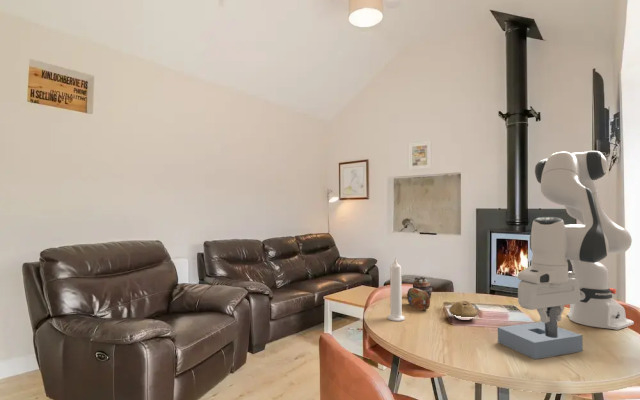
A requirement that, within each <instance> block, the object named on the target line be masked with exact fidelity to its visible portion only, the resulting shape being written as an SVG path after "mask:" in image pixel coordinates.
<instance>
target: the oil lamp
mask: <svg viewBox="0 0 640 400" xmlns="http://www.w3.org/2000/svg"><path fill="white" fill-rule="evenodd" d="M448 311H449V313H450V314H451V315H452V314H453V315H456V316H461V317H474V318H475V317H477V316H478V314H479V312H478V310H477V308H476V307H474V306H473V305H472V303H471V302H470V301H468V300H467V301H466V300H463V301H462V300H461V301H456V302H454V303H452V305H451V306H450V307H449V308H448ZM453 315H452V316H453Z"/></svg>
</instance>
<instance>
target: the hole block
mask: <svg viewBox="0 0 640 400" xmlns="http://www.w3.org/2000/svg"><path fill="white" fill-rule="evenodd" d="M557 333H558V337H557V338H551V337H547V336H545V323H543V322H541V321H537V322H536V321H535V322H529V323H522V324H520V323H519V324H513V325H507V326H506V325H505V326H498V327H497V342H498V343H499V344H501V345H503V346H505V347H508V348H510V349H512V350H514V351H515V352H517V353H520V354H522V355H525V356H527V357H528V358H530V359H533V360H538V359H539V360H540V359H545V358H546V359H547V358H549V357H550V358H551V357H556V356H561V355H568V354H573V353H574V354H575V353H579V352H583V351H584V350H583V349H584V347H583V345H584V344H583V338H584V337H583V335H582V334H580V333H577V332H574V331H571V330H568V329H565V328H563V327H559V326H557Z"/></svg>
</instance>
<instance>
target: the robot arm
mask: <svg viewBox="0 0 640 400" xmlns="http://www.w3.org/2000/svg"><path fill="white" fill-rule="evenodd" d="M607 170H608V161H607V158H606V157H605V156H604V154H603V152H601V151H598V150H587V151H584V152H583V151H582V152H572V153H570V152H568V151H558V152H555V153H552V154H551V155H549V157H548V158H544V159H542V160H539V161H538V162H537V163H536V165H535V168H534V176H535V178H536V180H537V182H538V183H539V185H540V192H541V194H542V195H543V197H544V198H545V199H547V200H548V201H550V202H551V203H554V204H556V205H560V206H563V207H564V206H565V211H566V213H567V215H568V216H569V217H570V218H572V219H575V220H577V221H579V222H581V223H582V224H581V223H579V224H578V223H577V224H576V223H575V224H574V223H573V224H572V223H570V224H565V221H564V220H563V219H562V218H560V217H556V216H542V217H540V216H539V217H536V218H535V219H533V221H532V225H531V232H530V235H529V250H531V253H532V257H531V265H529V266H528V267H526V268H525V269H523V270H521V271H519V272H518V273H517V279H518V280H519V283H518V285H517V302H518V304H519V306H520V307H521V308H522V309H526V310H528V311H529V310H530V311H533V310H534V311H535V310H536V311H537V313H538V315H539V317H540V318H539V319H540V322H543V323H548V322H550V317H549V316H547V314H546V312H545V311H547V308H548V307H555V306H557V322H560V321H562V315H563V312H564V310H565V306H568V305H569V312H567V314H566V315H567V317H568V318H569V320H570V321H572V322H574V323H577V324H580V325H584V326H587V327H594V328H601V329H602V328H603V329H611V330H616V331H618V330H621V329H624V328H627V327H630V326H633V325H634V324H635V323H634V321H633V320H632V319H629V318H627V317H626V315H627V314H626V310H625V307H624V306H623V305H621V304H620V303H619V302H618V301H616V300H615V299H614V298H613V294H614V295H616V294H617V289H616V288H612V287H609V269H608V268H607V267H606V265H604V263H602V262H600V261H602V260H604V259H605V258H607V256H608V255H609V254H610V255H612V254H623V253H626V252H627V251H628V250H629V249H630V248H631V246H632V241H633V239H632V236H631V234H630V232H629V230H627V229H626V228H624V227H622V226H620V225H619V224H617V223H616V222H614V221H613V220H612V219H611V218H610V217H609V216H608V215H607V214H606V212H605V211H604V209H603V207H602V203H601V200H600V196H599V192H598V187H597V184H596V181H597V180H599V179H601V178H603V177H604V176H605V175H606V173H607ZM568 260H569V262H570V264H571V266H572V271H571V270H570V271H569V263H568Z"/></svg>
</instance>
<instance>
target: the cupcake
mask: <svg viewBox="0 0 640 400" xmlns="http://www.w3.org/2000/svg"><path fill="white" fill-rule="evenodd" d="M412 288H417V289H419V290H422V291H425V292H427V293H428V295H429V297H430V299H431V298H432V291H433V287H431V283H430V282H429V281H428V280H427V279H426V278H425V277H420V278H419V277H415V278H414V280H413V282H412Z"/></svg>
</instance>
